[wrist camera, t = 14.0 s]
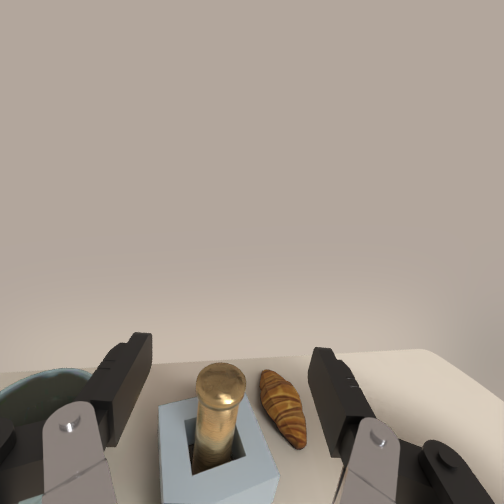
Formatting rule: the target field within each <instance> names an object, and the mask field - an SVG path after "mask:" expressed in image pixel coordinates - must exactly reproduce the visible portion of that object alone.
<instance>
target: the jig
mask: <svg viewBox="0 0 504 504" xmlns="http://www.w3.org/2000/svg"><path fill="white" fill-rule="evenodd" d="M197 410H198V398H197V397H194V398H190V399H185V400H181V401H177V402H173V403H169V404H164V405H160V406H159V409H158V447H159V469H160V491H161V504H164V503H168V504H271V503H273V499H274V496H275V492H276V488H277V485H278V481H279V477H280V474H279V471H278V469H277V467H276V464H275V462H274V459H273V457H272V455H271V452H270V450H269V447H268V445H267V443H266V440H265V438H264V436H263V433H262V431H261V428H260V426H259V424H258V421H257V419H256V417H255V414H254V412H253V409H252V407H251V405H250V402H249V400H248V398H247V395H246V393H245V394H244V397H243V399H242V401H241V402H240V404H239V408H238V414H237V420H236V426H235V432H234V438H233V443H232V449H231V451H232V455H233V458H234V461H231V462H228V463H226V464H223V465H220V466H217V467H215V468H212V469H209V470H206V471H204V472H201V473H198V474H195V475H193V476H192V472H191V465H190V458H189V451H188V445H191V444H194V441H195V430H196V420H197Z"/></svg>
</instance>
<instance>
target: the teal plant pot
mask: <svg viewBox="0 0 504 504" xmlns="http://www.w3.org/2000/svg"><path fill="white" fill-rule="evenodd" d="M91 376H92V374H90V373H88V372H86V371H84V370H80V369H74V368H60V369H53V370H48V371H44V372H41V373H37V374H34V375H31V376H29V377H26V378H24V379H22V380H20V381H18V382H16V383H14V384H12V385H10V386H8V387H6V388H5V389H3V390H2V391H0V417H3V418H8V419H10V420H11V421H12V422H13V426H14V427H18V426H22V425H26V424H31V423H35V422H40V421H43V420H46V419H48V418H49V417H50V416H51V415H52V414H53V413H54V412H55V411H57V410H58V409H59V408H61V407H63V406H65V405H67V404H70V403H72V402H73V401H74V400H75V398H76V397H77V396H78V394H79V393H80V391H81V390H82V389H83V387H84V386H85V384H86V383H87V382H88V380H89V379H90V377H91ZM42 495H43V494H42ZM42 495H39V496H35V497H32V498H29V499H26V500H23V501H20V502H19V503H18V504H42Z"/></svg>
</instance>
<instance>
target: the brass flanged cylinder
mask: <svg viewBox="0 0 504 504" xmlns="http://www.w3.org/2000/svg"><path fill="white" fill-rule="evenodd" d="M245 389H246V379H245V376H244V374H243V373H242V372H241V370H240V369H238V368H237V367H235V366H234V365H231V364H228V363H214V364H211V365H208V366H207V367H205V368H204V369H203V370H202V371H201V372H200V373H199V375H198V377H197V381H196V395H197V398H198V410H197V420H196V430H195V441H194V451H193V461H192V474H193V475H195V474H198V473H201V472H204V471H206V470H209V469H212V468H215V467H217V466H220V465H223V464H226V463H228V462H229V461H230V455H231V449H232V443H233V438H234V432H235V426H236V420H237V414H238V408H239V404H240V402H241V401H242V399H243V397H244V394H245Z"/></svg>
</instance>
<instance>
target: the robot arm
mask: <svg viewBox="0 0 504 504" xmlns="http://www.w3.org/2000/svg"><path fill="white" fill-rule="evenodd" d="M151 365H152V334H151V333H140V332H135V333H133V335H132V336H131V338H130V339H129V341H128V342H127V343H119V344H118V345H116V346H115V347H114V348H112V349H111V350H110V351H109V352H108V354H107V355H106V356H105V358H104V359H103V362H101V363H100V365H99V366H98V368H97V370H95V372H94V373H93V375H92V376H91V377H90V379H89V380H88V382H87V383H86V384H85V386H84V387H83V389H82V390H81V391H80V393H79V394H78V396H77V397H76V398H75V400H74V401H73V402H72V403H70V404H67V405H65V406H63V407H61V408H59V409H58V410H57V411H55V412H54V413H53V414H52V415H51V416H50V417H49V418H48V419H46V420H43V421H40V422H35V423H31V424H26V425H22V426H18V427H14V426H13V422H12V421H11V420H10V419H8V418H3V417H0V504H18V503H19V502H20V501H23V500H26V499H29V498H32V497H35V496H39V495H42V494H43V495H42V504H117V501H116V496H115V492H114V488H113V483H112V479H111V475H110V470H109V466H108V462H107V459H105V456H104V450H105V448H106V447H116V446H117V444H118V441H119V439H120V437H121V435H122V433H123V430H124V428H125V426H126V424H127V421H128V419H129V417H130V415H131V412H132V410H133V408H134V406H135V403H136V401H137V399H138V397H139V395H140V392H141V390H142V388H143V386H144V383H145V381H146V379H147V377H148V374H149V372H150V369H151ZM308 383H309V387H310V390H311V393H312V397H313V400H314V403H315V406H316V410H317V413H318V416H319V419H320V422H321V426H322V429H323V432H324V435H325V439H326V442H327V445H328V448H329V452H330V455H331V457H334V458H341V459H342V462H343V465H344V466H343V468H342V471H341V474H340V478H339V481H338V485H337V488H336V491H335V495H334V498H333V501H332V504H495V503H494V502H493V500H492V499H491V497H490V496H489V495H488V493H487V492H486V490H485V489H484V488H483V486H482V485H481V483H480V482H479V481H478V479H477V478H476V476H475V475H474V474H473V472H472V471H471V469H470V468H469V466H468V465H467V464H466V462H465V461H464V460H463V459H462V457H461V456H460V455H459V454H458V453H457V452H455V451H454V450H453V449H452V448H450V447H449V446H447V445H445V444H444V443H442V442H439V441H436V440H428V441H426V442H425V443H424V445H423V447H419V446H416V445H414V444H411V443H408V442H406V441H403V440H401V439H398V438H397V436H396V435H395V433H394V432H393V431H392V429H391V428H390V427H389V426H387V425H386V424H385V423H383V422H382V421H380V420H378V419H377V418H376V416H375V415H374V413H373V411H372V409H371V407H370V405H369V403H368V402H367V400H366V398H365V396H364V394H363V392H362V390H361V388H359V385H358V383H357V381H356V380H355V377H354V375H353V374H352V372H351V370H350V368H349V367H348V366H347V365H346V364H345V363H344V362H343V361H342V360H337V359H336V357H335V355H334V353H333V351H332V349H331V348H321V347H315V348H314V351H313V354H312V358H311V362H310V366H309V369H308ZM164 504H168V503H164Z"/></svg>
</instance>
